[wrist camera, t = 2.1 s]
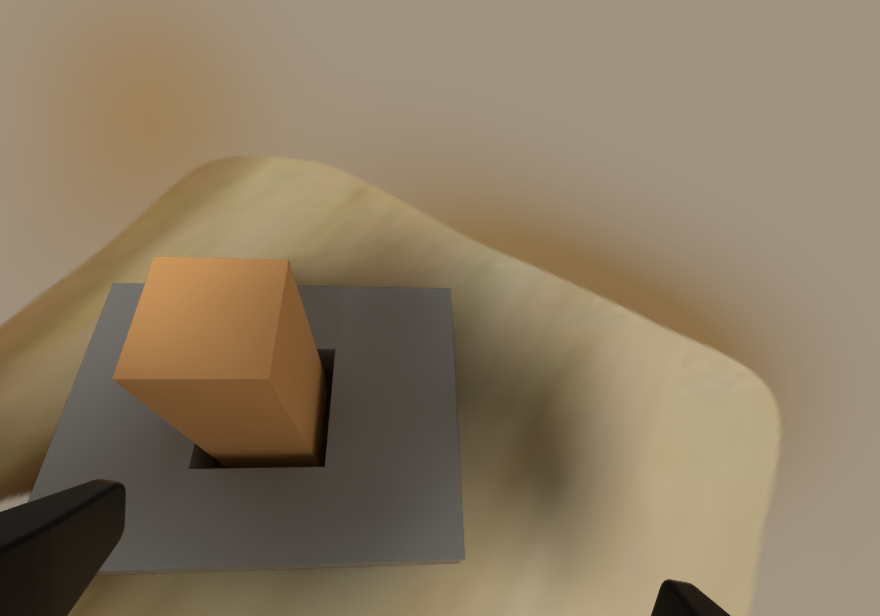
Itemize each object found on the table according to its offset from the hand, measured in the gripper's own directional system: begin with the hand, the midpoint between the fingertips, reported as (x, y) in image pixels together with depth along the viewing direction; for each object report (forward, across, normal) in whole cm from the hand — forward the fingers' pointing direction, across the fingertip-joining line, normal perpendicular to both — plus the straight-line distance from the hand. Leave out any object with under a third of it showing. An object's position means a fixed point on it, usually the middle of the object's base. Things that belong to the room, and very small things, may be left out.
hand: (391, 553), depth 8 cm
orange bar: (+13, +6, +6) cm, 16 cm away
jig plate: (+13, +6, +6) cm, 16 cm away
